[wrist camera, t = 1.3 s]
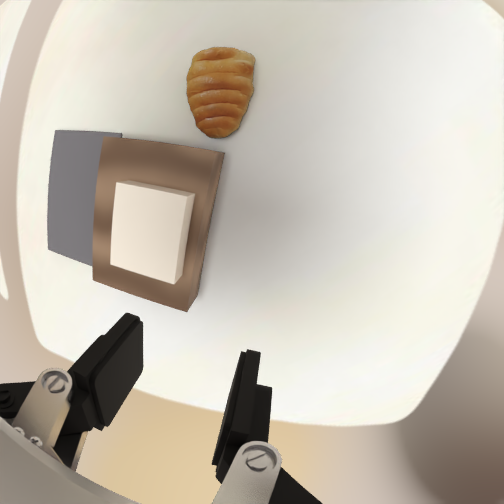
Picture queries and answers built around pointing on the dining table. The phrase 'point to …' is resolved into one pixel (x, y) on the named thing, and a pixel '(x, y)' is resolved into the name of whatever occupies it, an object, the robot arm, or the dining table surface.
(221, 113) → the pastry
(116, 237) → the tile
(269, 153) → the dining table surface
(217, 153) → the serving board
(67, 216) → the mat
